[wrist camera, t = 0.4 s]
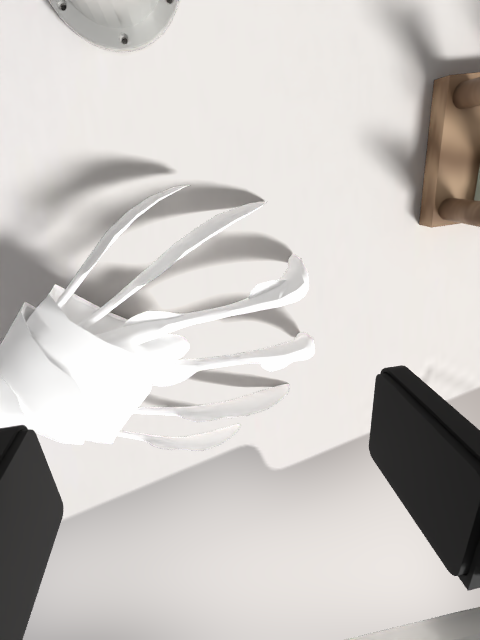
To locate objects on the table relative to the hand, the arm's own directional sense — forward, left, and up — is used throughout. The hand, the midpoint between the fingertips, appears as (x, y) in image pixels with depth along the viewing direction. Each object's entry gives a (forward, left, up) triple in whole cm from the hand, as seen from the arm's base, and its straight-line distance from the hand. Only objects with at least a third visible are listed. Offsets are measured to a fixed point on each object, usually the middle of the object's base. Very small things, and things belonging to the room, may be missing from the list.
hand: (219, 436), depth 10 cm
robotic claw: (+12, -6, -36) cm, 38 cm away
